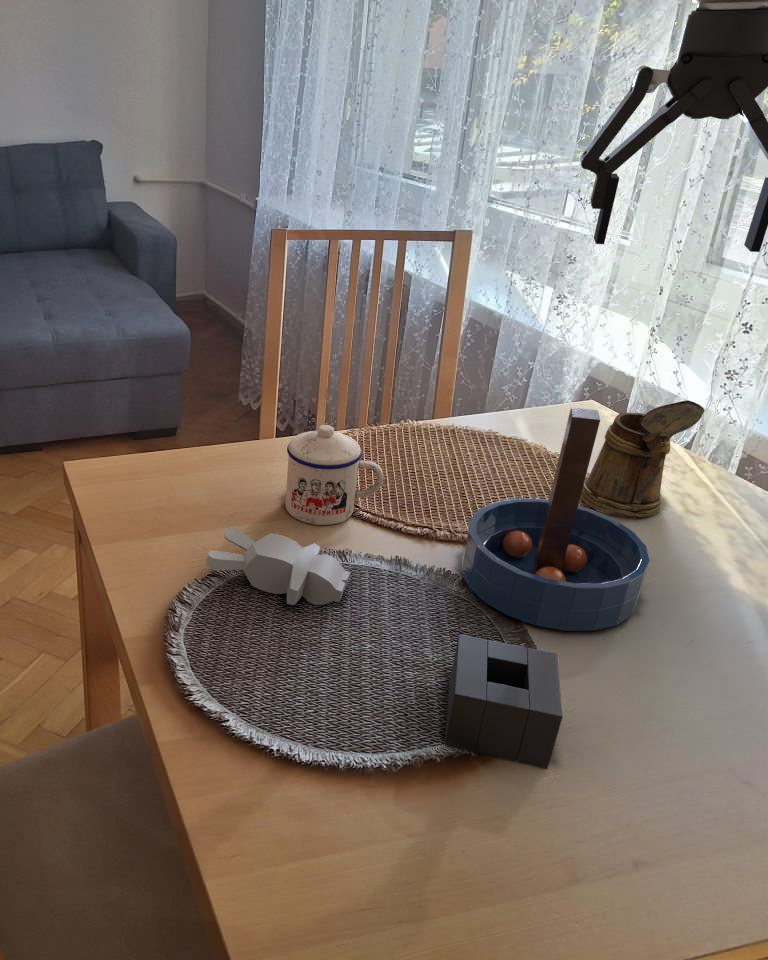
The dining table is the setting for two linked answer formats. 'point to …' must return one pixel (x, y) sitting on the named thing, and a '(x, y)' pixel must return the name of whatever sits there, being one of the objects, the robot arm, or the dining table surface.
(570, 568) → the bead
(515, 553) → the bead
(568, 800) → the dining table surface
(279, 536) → the bunny figurine
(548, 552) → the stick
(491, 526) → the bowl
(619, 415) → the wooden mug
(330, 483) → the teacup with lid
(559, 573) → the bead
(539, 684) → the holder
